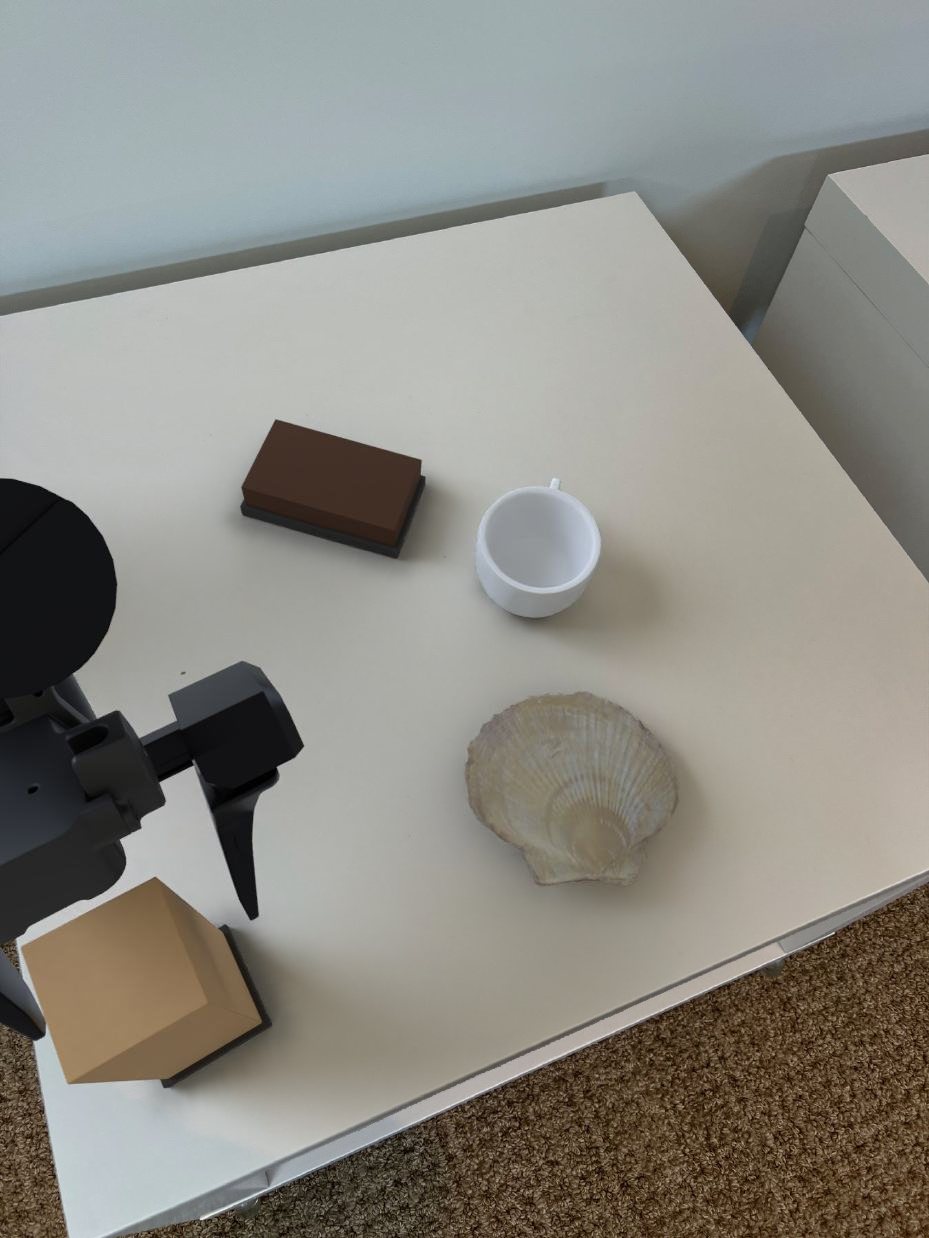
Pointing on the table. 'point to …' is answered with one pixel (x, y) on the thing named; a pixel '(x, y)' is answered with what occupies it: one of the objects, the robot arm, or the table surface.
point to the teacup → (537, 550)
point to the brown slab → (333, 488)
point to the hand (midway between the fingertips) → (151, 970)
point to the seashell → (571, 786)
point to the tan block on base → (143, 989)
